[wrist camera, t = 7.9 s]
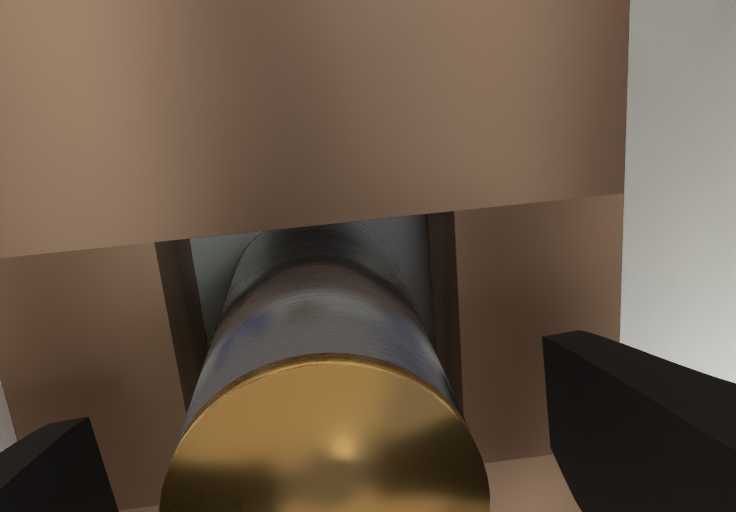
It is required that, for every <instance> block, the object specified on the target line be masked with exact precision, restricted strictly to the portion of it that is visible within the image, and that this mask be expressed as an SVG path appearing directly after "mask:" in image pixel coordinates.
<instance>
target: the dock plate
mask: <svg viewBox="0 0 736 512" xmlns="http://www.w3.org/2000/svg"><path fill="white" fill-rule="evenodd" d="M629 10H630V0H0V379H1V382H2V386H3V389H4V393H5V397H6V400H7V404H8V408H9V411H10V415H11V419H12V422H13V426H14V429H15V433H16V437H17V440H18V441H19V440H21V439H22V438H24V437H25V436H27V435H29V434H30V433H32V432H34V431H36V430H37V429H39V428H41V427H43V426H45V425H47V424H49V423H54V422H60V421H65V420H71V419H77V418H82V417H88V416H89V418H90V422H91V425H92V428H93V431H94V434H95V437H96V441H97V444H98V447H99V450H100V453H101V456H102V460H103V463H104V466H105V469H106V472H107V475H108V479H109V482H110V485H111V488H112V491H113V495H114V498H115V501H116V504H117V507H118V510H119V512H159V504H160V498H161V492H162V486H163V483H164V480H165V477H166V474H167V471H168V468H169V465H170V462H171V459H172V456H173V453H174V450H175V447H176V444H177V441H178V438H179V435H180V432H181V429H182V426H183V424H184V421H185V418H186V415H187V412H188V409H189V406H190V403H191V400H192V397H193V394H194V391H195V388H196V385H197V382H198V379H199V377H200V374H201V371H202V368H203V365H204V362H205V359H206V356H207V353H208V347H207V341H206V335H205V330H204V324H203V318H202V312H201V306H200V300H199V294H198V289H197V283H196V277H195V271H194V265H193V259H192V253H191V247H190V242H189V239H190V238H199V237H209V236H218V235H228V234H238V233H247V232H257V231H266V230H276V229H286V228H295V227H305V226H314V225H324V224H334V223H343V222H353V221H362V220H372V219H382V218H391V217H401V216H410V215H420V214H428V225H429V242H430V259H431V275H432V292H433V309H434V326H435V343H436V355H437V357H438V359H439V362H440V364H441V366H442V369H443V371H444V373H445V375H446V378H447V380H448V382H449V384H450V387H451V389H452V391H453V393H454V396H455V398H456V400H457V402H458V405H459V407H460V409H461V411H462V414H463V416H464V418H465V420H466V423H467V425H468V427H469V429H470V432H471V434H472V436H473V438H474V441H475V443H476V445H477V447H478V450H479V452H480V454H481V456H482V459H483V462H484V466H485V469H486V472H487V476H488V483H489V490H490V512H582V511H581V509H580V508H579V506H578V505H577V503H576V501H575V500H574V497H573V495H572V493H571V491H570V489H569V487H568V485H567V483H566V481H565V479H564V477H563V474H562V472H561V470H560V468H559V466H558V463H557V461H556V459H555V457H554V454H553V452H552V450H551V448H550V437H549V424H548V411H547V398H546V384H545V371H544V358H543V345H542V336H548V335H554V334H559V333H565V332H571V331H576V330H582V331H586V332H590V333H593V334H596V335H599V336H602V337H605V338H608V339H611V340H614V341H617V342H619V338H620V306H621V273H622V240H623V207H624V174H625V141H626V108H627V75H628V42H629Z"/></svg>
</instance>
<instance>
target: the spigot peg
mask: <svg viewBox="0 0 736 512" xmlns="http://www.w3.org/2000/svg"><path fill="white" fill-rule="evenodd" d="M159 512H490V490H489V483H488V476H487V472H486V469H485V466H484V462H483V459H482V456H481V454H480V452H479V450H478V447H477V445H476V443H475V441H474V438H473V436H472V434H471V432H470V429H469V427H468V425H467V423H466V420H465V418H464V416H463V414H462V411H461V409H460V407H459V405H458V402H457V400H456V398H455V396H454V393H453V391H452V389H451V387H450V384H449V382H448V380H447V378H446V375H445V373H444V371H443V369H442V366H441V364H440V362H439V359H438V357H437V355H436V353H435V350H434V348H433V346H432V344H431V341H430V339H429V337H428V335H427V332H426V330H425V328H424V326H423V323H422V321H421V319H420V317H419V314H418V312H417V310H416V308H415V305H414V303H413V301H412V299H411V296H410V294H409V292H408V290H407V287H406V285H405V283H404V281H403V278H402V276H401V274H400V272H399V269H398V267H397V265H396V263H395V260H394V258H393V256H392V254H391V253H390V251H389V249H388V248H387V246H386V245H385V244H384V243H383V242H382V240H381V239H380V238H379V237H378V236H377V235H376V234H375V233H373V232H372V231H371V230H370V229H368V228H367V227H365V226H364V225H362V224H361V223H359V222H357V221H353V222H343V223H334V224H324V225H314V226H305V227H295V228H286V229H276V230H266V231H262V232H261V233H260V234H259V235H258V236H256V237H255V239H254V240H253V241H252V242H251V243H250V244H249V245H248V247H247V248H246V250H245V251H244V253H243V254H242V256H241V258H240V260H239V262H238V265H237V268H236V271H235V274H234V277H233V279H232V282H231V285H230V288H229V291H228V294H227V297H226V300H225V303H224V306H223V309H222V312H221V315H220V318H219V321H218V324H217V327H216V329H215V332H214V335H213V338H212V341H211V344H210V347H209V350H208V353H207V356H206V359H205V362H204V365H203V368H202V371H201V374H200V377H199V379H198V382H197V385H196V388H195V391H194V394H193V397H192V400H191V403H190V406H189V409H188V412H187V415H186V418H185V421H184V424H183V426H182V429H181V432H180V435H179V438H178V441H177V444H176V447H175V450H174V453H173V456H172V459H171V462H170V465H169V468H168V471H167V474H166V477H165V480H164V483H163V486H162V492H161V498H160V504H159Z"/></svg>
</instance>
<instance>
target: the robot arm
mask: <svg viewBox="0 0 736 512" xmlns="http://www.w3.org/2000/svg"><path fill="white" fill-rule="evenodd" d="M542 345H543V358H544V371H545V384H546V398H547V411H548V424H549V437H550V448H551V450H552V452H553V454H554V457H555V459H556V461H557V463H558V466H559V468H560V470H561V472H562V474H563V477H564V479H565V481H566V483H567V485H568V487H569V489H570V491H571V493H572V495H573V497H574V500H575V501H576V503H577V505H578V506H579V508H580V509H581V511H582V512H736V384H735V383H732V382H729V381H725V380H722V379H719V378H716V377H713V376H710V375H707V374H704V373H701V372H698V371H695V370H692V369H690V368H687V367H684V366H681V365H678V364H676V363H673V362H670V361H667V360H665V359H662V358H659V357H657V356H654V355H651V354H649V353H646V352H643V351H641V350H638V349H635V348H633V347H630V346H627V345H625V344H622V343H619V342H617V341H614V340H611V339H608V338H605V337H602V336H599V335H596V334H593V333H590V332H586V331H582V330H576V331H571V332H565V333H559V334H554V335H548V336H542ZM0 512H119V510H118V507H117V504H116V501H115V498H114V495H113V491H112V488H111V485H110V482H109V479H108V475H107V472H106V469H105V466H104V463H103V460H102V456H101V453H100V450H99V447H98V444H97V441H96V437H95V434H94V431H93V428H92V425H91V422H90V418H89V416H88V417H82V418H77V419H71V420H65V421H60V422H54V423H49V424H47V425H45V426H43V427H41V428H39V429H37V430H36V431H34V432H32V433H30V434H29V435H27V436H25V437H24V438H22V439H21V440H19V441H17V442H16V443H14V444H13V445H11V446H10V447H8V448H7V449H5V450H4V451H2V452H1V453H0Z"/></svg>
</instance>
